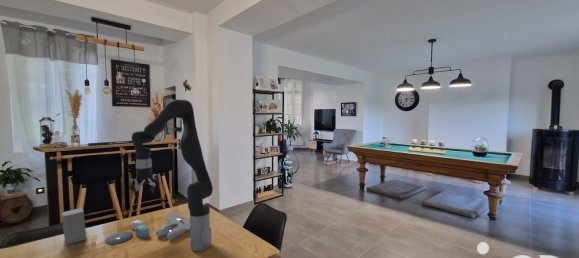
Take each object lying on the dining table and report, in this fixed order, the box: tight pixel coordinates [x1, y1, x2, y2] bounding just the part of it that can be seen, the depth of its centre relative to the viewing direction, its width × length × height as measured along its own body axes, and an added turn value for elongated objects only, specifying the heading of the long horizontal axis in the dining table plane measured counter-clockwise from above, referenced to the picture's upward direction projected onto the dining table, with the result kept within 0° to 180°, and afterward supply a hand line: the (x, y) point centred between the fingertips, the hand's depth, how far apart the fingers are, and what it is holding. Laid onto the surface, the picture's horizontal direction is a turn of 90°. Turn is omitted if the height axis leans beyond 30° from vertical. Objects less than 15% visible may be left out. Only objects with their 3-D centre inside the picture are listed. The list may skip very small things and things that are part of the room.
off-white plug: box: [129, 219, 146, 231], centre depth 139 cm, size 9×3×4 cm, turn 80°
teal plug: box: [134, 225, 150, 239], centre depth 131 cm, size 10×4×4 cm, turn 60°
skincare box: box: [61, 207, 87, 246], centre depth 125 cm, size 8×7×16 cm
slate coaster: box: [104, 231, 134, 245], centre depth 128 cm, size 12×12×1 cm
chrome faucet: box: [155, 211, 190, 241], centre depth 136 cm, size 18×7×20 cm
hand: (145, 195), depth 135 cm, fingers open, 8 cm apart
